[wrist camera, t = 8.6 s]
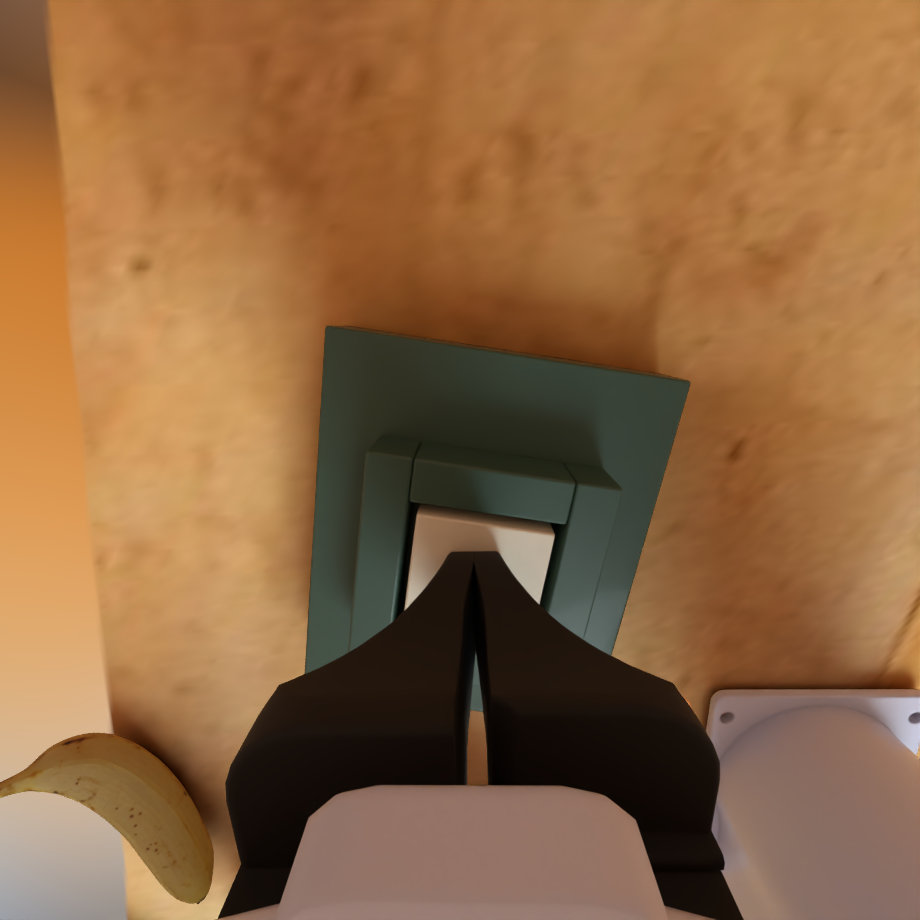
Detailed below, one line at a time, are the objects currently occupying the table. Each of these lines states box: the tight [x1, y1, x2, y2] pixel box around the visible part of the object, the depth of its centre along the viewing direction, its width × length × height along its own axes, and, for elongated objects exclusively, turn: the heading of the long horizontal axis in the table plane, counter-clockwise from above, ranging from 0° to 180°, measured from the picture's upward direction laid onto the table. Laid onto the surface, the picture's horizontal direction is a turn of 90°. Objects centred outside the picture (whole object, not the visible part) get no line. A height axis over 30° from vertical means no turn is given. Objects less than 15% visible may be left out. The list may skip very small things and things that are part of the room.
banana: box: [0, 733, 214, 904], centre depth 18 cm, size 10×2×4 cm
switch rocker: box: [404, 503, 555, 611], centre depth 13 cm, size 4×4×2 cm
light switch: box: [305, 326, 690, 712], centre depth 14 cm, size 12×10×4 cm
